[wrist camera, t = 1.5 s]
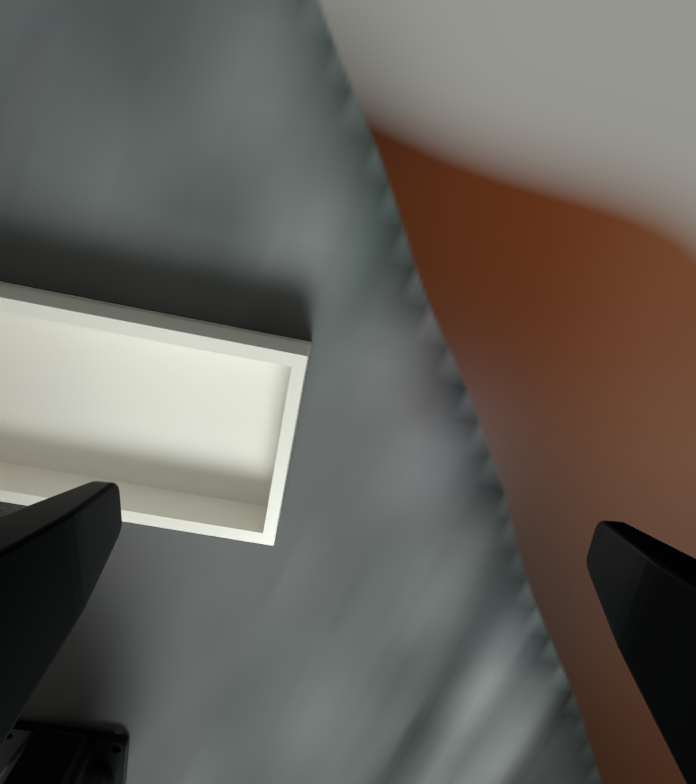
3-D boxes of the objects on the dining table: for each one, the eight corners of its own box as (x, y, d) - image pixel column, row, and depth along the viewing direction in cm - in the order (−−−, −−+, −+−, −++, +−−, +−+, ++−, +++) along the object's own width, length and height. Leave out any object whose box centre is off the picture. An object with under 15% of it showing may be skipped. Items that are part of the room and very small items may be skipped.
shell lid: (280, 512, 22) (273, 545, 20) (-89, 450, 21) (-144, 478, 18) (311, 341, 20) (307, 356, 17) (-103, 261, 18) (-169, 264, 16)
